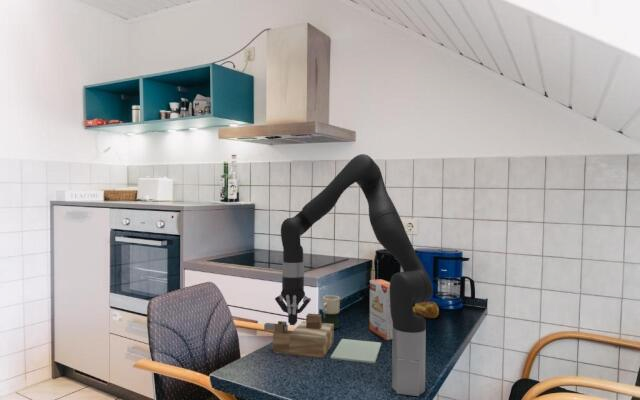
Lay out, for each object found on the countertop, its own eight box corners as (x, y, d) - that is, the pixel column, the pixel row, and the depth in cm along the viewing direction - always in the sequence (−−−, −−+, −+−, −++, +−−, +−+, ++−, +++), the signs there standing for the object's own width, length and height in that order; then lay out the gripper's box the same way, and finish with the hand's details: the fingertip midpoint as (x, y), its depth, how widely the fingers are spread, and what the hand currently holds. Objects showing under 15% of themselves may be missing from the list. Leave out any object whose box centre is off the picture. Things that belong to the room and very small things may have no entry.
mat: (374, 363, 136) (375, 361, 136) (330, 358, 140) (330, 356, 140) (381, 344, 155) (381, 342, 155) (341, 340, 159) (341, 338, 159)
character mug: (331, 323, 180) (332, 293, 180) (345, 326, 176) (345, 296, 176) (316, 329, 171) (316, 298, 172) (330, 333, 167) (330, 300, 167)
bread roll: (407, 315, 194) (408, 298, 194) (417, 311, 202) (417, 295, 202) (434, 321, 186) (434, 303, 186) (442, 316, 194) (442, 299, 194)
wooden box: (322, 358, 140) (323, 328, 140) (272, 352, 145) (273, 324, 145) (333, 342, 156) (333, 316, 156) (288, 338, 160) (288, 312, 160)
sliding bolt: (285, 332, 145) (285, 323, 145) (264, 330, 147) (264, 321, 147) (287, 330, 147) (287, 321, 147) (266, 328, 149) (266, 320, 149)
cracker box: (368, 330, 172) (369, 279, 172) (381, 328, 174) (381, 278, 174) (385, 341, 158) (386, 286, 159) (399, 339, 161) (399, 285, 161)
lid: (323, 342, 140) (323, 324, 140) (289, 339, 143) (289, 321, 144) (333, 328, 156) (333, 312, 156) (303, 326, 159) (303, 309, 159)
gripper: (271, 275, 143) (270, 326, 143) (308, 277, 140) (308, 329, 140) (278, 272, 150) (278, 320, 150) (314, 273, 147) (313, 323, 147)
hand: (292, 324), depth 145 cm, fingers closed
